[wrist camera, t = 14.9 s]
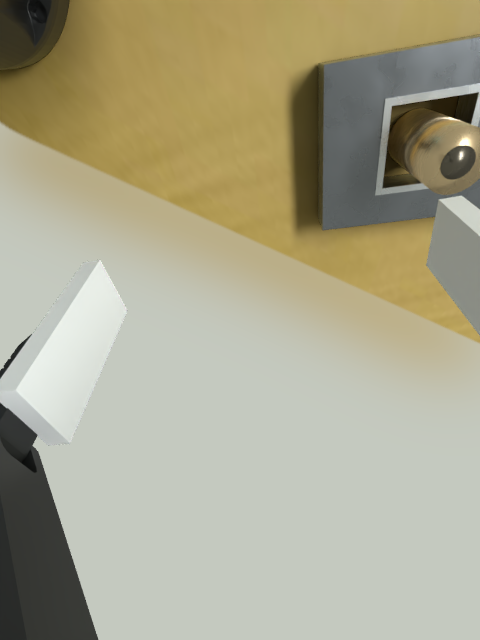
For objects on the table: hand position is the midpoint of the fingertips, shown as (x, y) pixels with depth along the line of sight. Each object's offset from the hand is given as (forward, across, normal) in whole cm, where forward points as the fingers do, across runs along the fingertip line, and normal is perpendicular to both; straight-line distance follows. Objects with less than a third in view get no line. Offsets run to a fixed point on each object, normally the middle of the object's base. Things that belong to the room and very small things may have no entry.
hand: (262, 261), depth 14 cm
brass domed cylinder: (+24, +15, -4) cm, 29 cm away
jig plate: (+24, +15, -4) cm, 29 cm away
